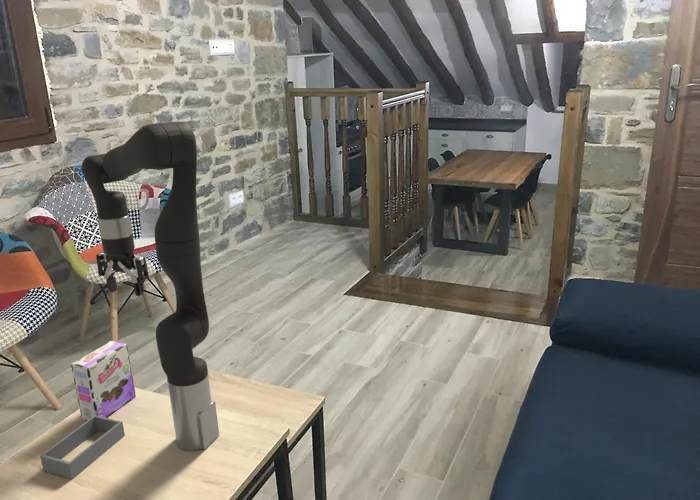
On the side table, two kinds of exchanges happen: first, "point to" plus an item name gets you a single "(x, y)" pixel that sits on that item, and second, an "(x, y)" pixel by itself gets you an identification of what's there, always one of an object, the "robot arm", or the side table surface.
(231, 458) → the side table surface
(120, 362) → the candy box
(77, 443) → the bin
